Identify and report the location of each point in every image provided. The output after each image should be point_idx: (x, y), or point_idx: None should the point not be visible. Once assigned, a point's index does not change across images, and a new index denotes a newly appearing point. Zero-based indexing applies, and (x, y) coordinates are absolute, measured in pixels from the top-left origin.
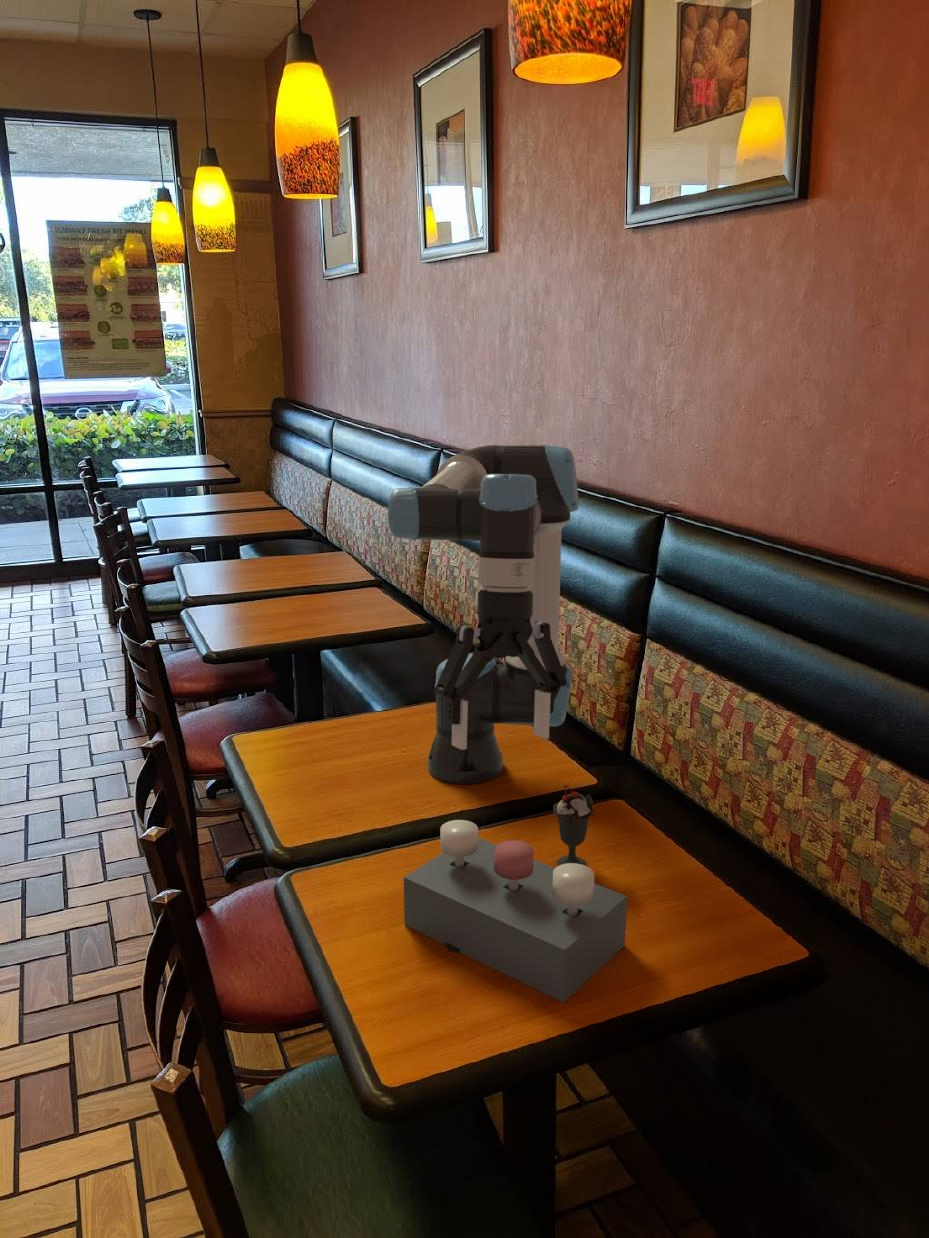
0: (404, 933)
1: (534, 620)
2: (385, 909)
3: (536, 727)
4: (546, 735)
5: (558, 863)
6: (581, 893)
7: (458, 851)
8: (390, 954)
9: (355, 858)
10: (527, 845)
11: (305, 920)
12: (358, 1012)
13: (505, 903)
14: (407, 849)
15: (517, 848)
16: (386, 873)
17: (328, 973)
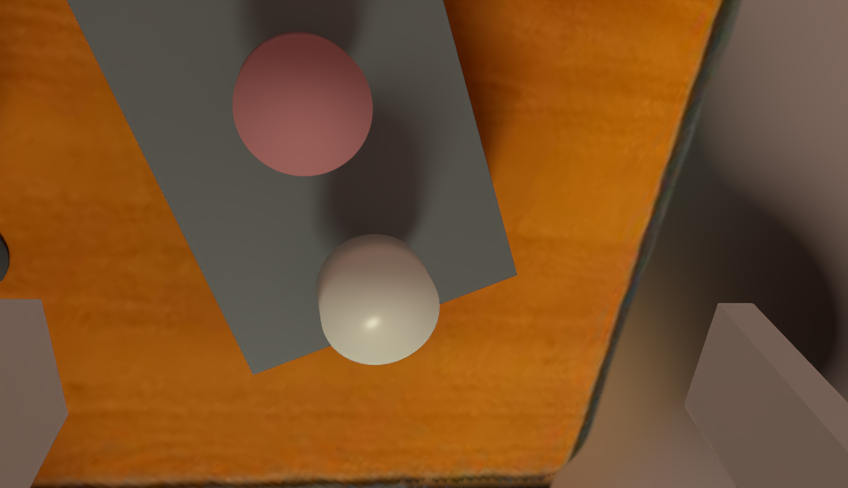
0: None
1: None
2: (479, 294)
3: (36, 434)
4: (11, 314)
5: (1, 271)
6: None
7: (406, 248)
8: (555, 152)
9: (433, 478)
10: (241, 112)
11: (618, 329)
12: (700, 21)
13: (368, 24)
14: (321, 470)
15: (285, 114)
16: (408, 407)
17: (675, 160)
